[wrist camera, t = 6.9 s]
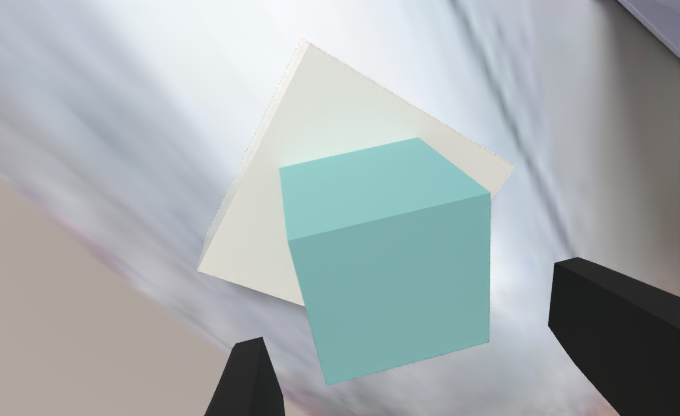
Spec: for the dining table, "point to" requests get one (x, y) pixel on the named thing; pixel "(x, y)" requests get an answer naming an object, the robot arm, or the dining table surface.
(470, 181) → the teal block
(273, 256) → the stone plinth
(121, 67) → the dining table surface
